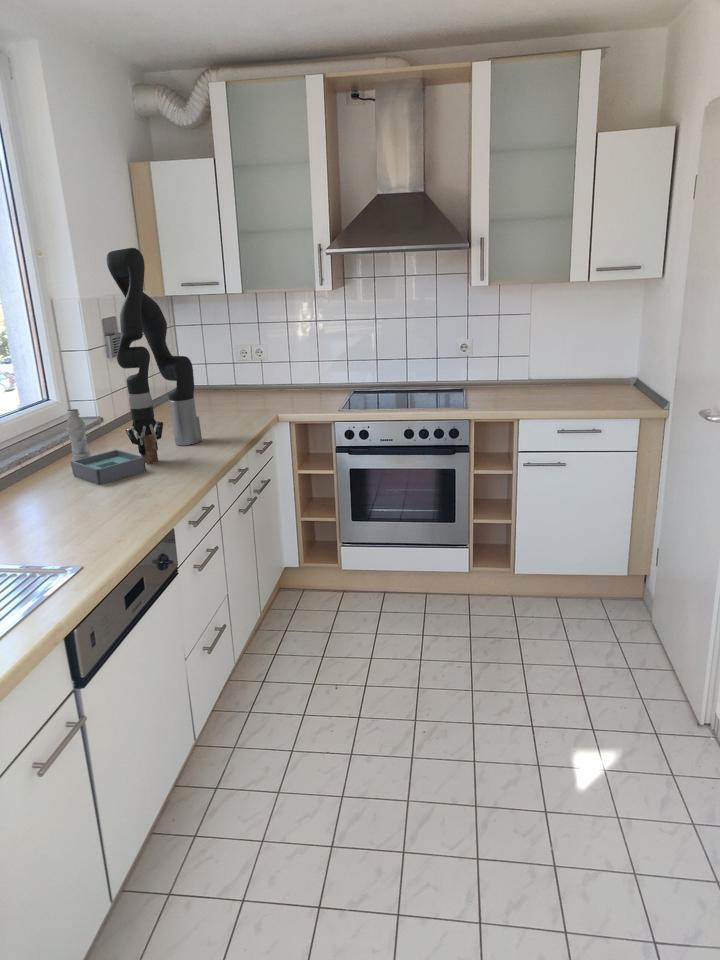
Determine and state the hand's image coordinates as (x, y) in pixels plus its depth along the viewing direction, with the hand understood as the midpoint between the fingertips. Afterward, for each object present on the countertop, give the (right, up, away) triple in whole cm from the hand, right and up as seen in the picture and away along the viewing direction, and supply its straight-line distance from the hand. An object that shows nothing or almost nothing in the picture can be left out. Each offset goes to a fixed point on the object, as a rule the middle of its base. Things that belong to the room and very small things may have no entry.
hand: (148, 453), depth 248 cm
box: (-10, -7, -10) cm, 16 cm away
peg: (0, -3, +1) cm, 3 cm away
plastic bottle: (-24, -4, +2) cm, 24 cm away
